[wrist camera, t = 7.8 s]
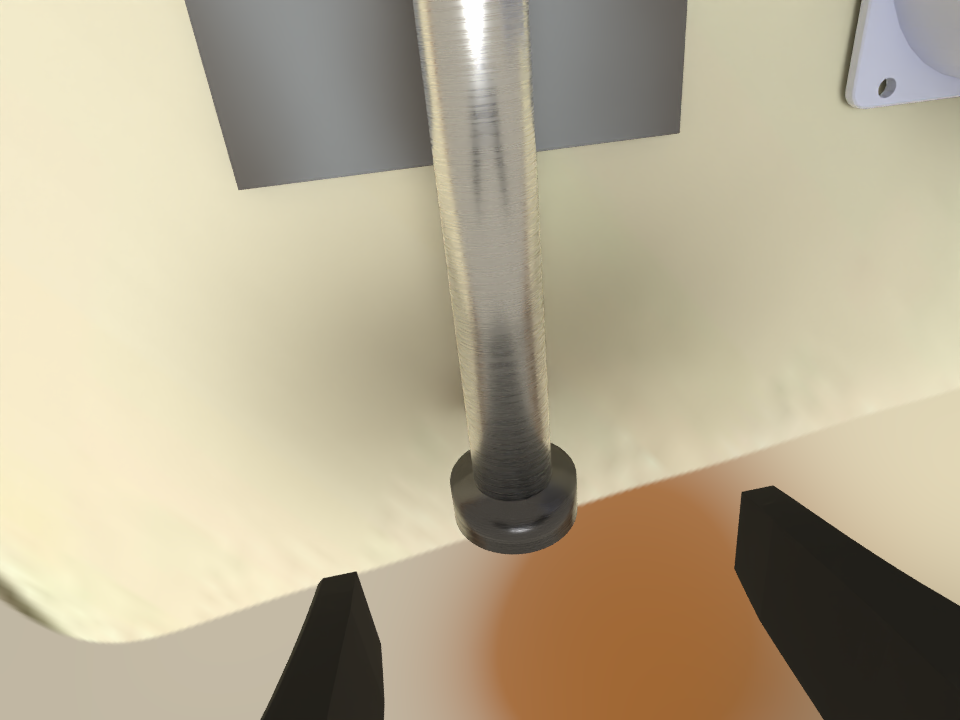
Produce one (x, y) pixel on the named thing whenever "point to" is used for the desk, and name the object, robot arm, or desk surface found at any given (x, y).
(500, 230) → the shaft
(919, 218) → the desk surface
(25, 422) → the desk surface
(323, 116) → the bearing block
